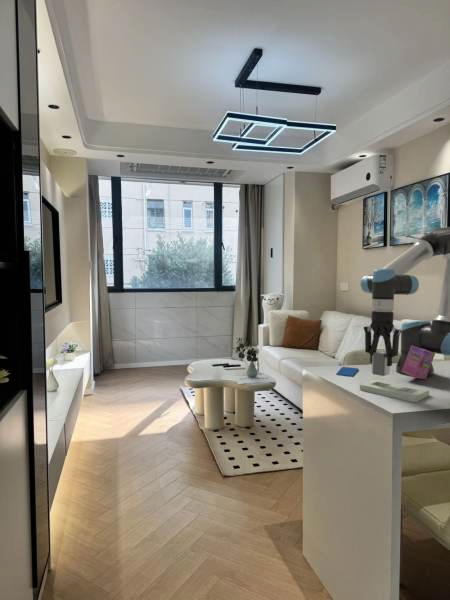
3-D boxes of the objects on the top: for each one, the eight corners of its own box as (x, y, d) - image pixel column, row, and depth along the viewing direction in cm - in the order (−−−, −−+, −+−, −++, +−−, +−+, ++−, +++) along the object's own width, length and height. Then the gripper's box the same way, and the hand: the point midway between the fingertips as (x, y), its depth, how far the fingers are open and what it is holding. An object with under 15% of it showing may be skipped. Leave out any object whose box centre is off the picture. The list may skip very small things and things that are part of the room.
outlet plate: (375, 384, 154) (375, 378, 154) (429, 395, 139) (429, 389, 139) (359, 389, 146) (359, 384, 146) (415, 402, 131) (415, 396, 131)
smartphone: (335, 374, 169) (342, 366, 182) (335, 376, 169) (342, 368, 182) (353, 376, 165) (358, 368, 179) (353, 378, 165) (358, 370, 179)
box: (414, 377, 155) (424, 349, 155) (400, 372, 160) (410, 344, 159) (425, 380, 161) (435, 353, 161) (412, 374, 166) (422, 348, 165)
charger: (377, 372, 148) (378, 351, 148) (388, 374, 145) (388, 352, 145) (372, 374, 146) (373, 352, 145) (383, 376, 143) (383, 354, 142)
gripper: (356, 309, 148) (354, 370, 149) (401, 312, 136) (399, 379, 137) (365, 308, 153) (364, 368, 155) (410, 311, 141) (408, 376, 142)
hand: (380, 373), depth 146 cm, fingers closed on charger, 4 cm apart
